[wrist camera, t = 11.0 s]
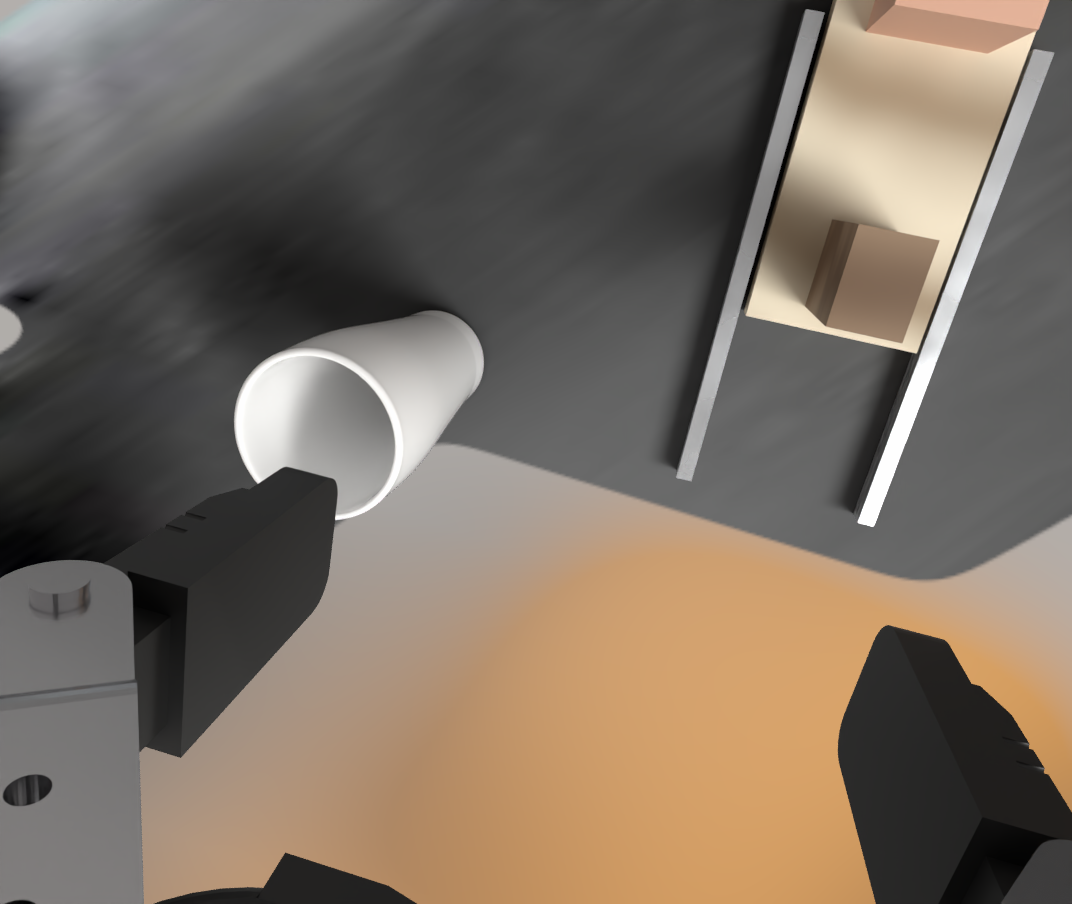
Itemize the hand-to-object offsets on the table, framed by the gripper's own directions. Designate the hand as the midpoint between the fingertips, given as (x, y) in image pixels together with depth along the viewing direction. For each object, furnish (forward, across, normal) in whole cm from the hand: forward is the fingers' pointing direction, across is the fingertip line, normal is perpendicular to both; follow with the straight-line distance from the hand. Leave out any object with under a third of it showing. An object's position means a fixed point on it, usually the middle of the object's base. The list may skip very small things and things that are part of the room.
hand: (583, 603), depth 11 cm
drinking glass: (+30, +11, +5) cm, 33 cm away
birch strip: (+30, -8, -12) cm, 33 cm away
